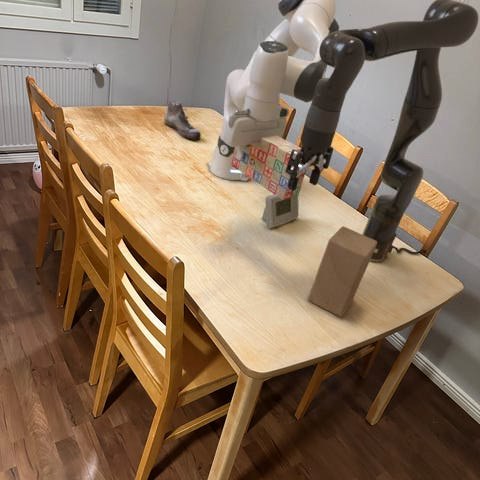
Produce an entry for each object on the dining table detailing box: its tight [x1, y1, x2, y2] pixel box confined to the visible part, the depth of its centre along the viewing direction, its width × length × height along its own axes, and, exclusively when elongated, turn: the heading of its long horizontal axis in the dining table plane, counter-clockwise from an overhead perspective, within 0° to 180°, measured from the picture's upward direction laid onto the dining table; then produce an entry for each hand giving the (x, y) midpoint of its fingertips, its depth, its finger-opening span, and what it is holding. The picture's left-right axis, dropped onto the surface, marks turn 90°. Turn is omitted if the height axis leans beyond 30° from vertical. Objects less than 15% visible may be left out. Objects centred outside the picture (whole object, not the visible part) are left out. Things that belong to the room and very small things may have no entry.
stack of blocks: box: [231, 136, 307, 200], centre depth 119 cm, size 21×6×12 cm, turn 42°
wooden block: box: [307, 226, 377, 318], centre depth 116 cm, size 10×10×20 cm
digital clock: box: [261, 193, 299, 229], centre depth 151 cm, size 16×9×11 cm, turn 123°
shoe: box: [163, 100, 202, 142], centre depth 205 cm, size 25×11×12 cm, turn 30°
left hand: (249, 156), depth 124 cm, fingers closed on stack of blocks, 6 cm apart
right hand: (302, 186), depth 113 cm, fingers open, 8 cm apart
